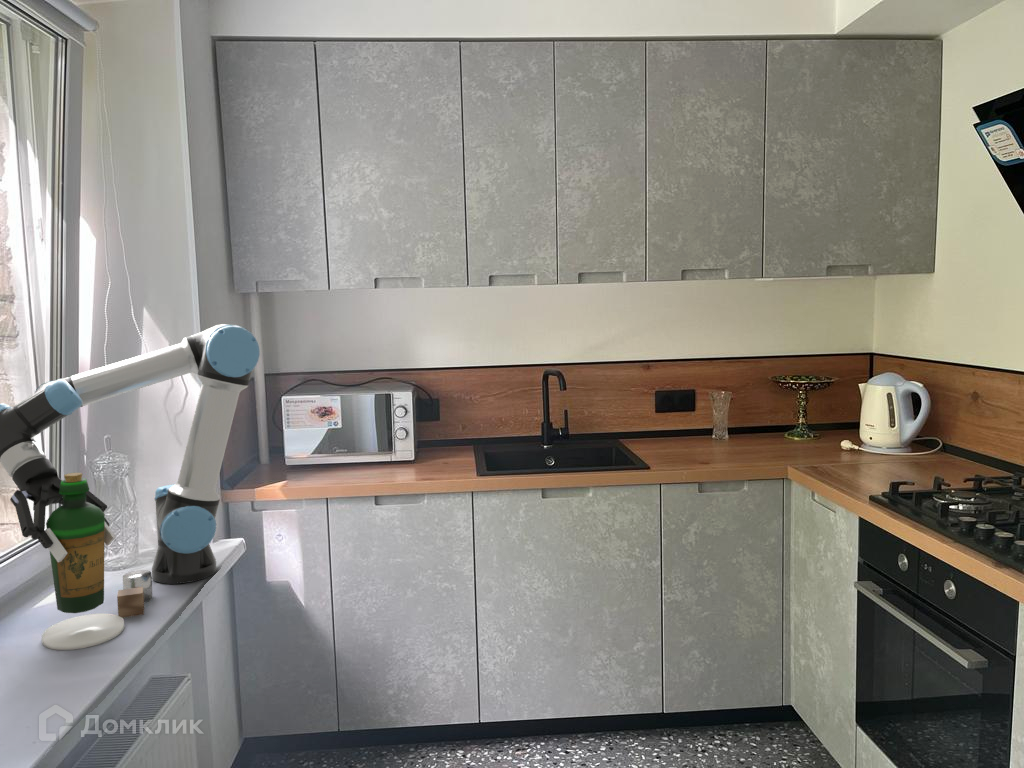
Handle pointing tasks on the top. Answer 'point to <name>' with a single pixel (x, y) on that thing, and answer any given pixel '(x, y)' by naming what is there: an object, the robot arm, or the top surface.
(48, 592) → the top surface
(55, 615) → the top surface
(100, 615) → the white round disc
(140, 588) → the walnut block
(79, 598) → the bottle
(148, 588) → the metal tin
